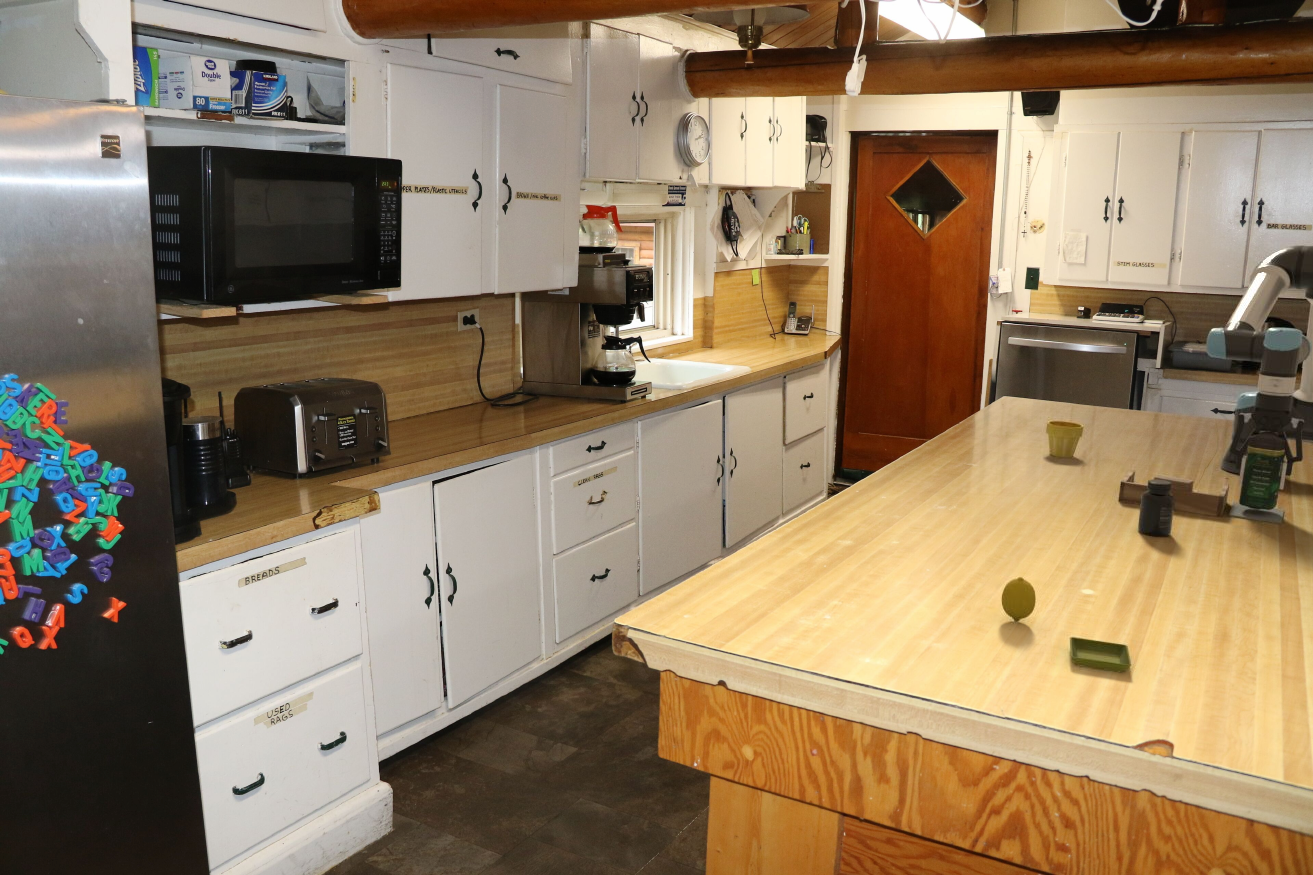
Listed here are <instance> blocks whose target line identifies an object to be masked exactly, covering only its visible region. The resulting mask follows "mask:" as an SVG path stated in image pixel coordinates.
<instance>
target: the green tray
mask: <svg viewBox="0 0 1313 875" xmlns="http://www.w3.org/2000/svg"><path fill="white" fill-rule="evenodd" d="M1069 648H1070V649H1069V650H1070V657H1071V660H1072V661H1073V662H1074V664H1075V665H1077V666H1078V665H1079V667H1085V666H1086V668H1091V667H1092V668H1091V669H1099V670H1104V669H1105V671H1110V670H1112V671H1111V672H1117V671H1118V672H1117V673H1123V672H1125V671H1127V670H1128V669H1129V668H1131V667H1132V661H1131V656H1130V653H1129V652H1130V651H1129V647H1128V645H1127V644H1122V643H1116V642H1108V641H1101V640H1095V639H1089V638H1082V637H1075V636H1071V637H1069ZM1119 671H1120V672H1119Z"/></svg>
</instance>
